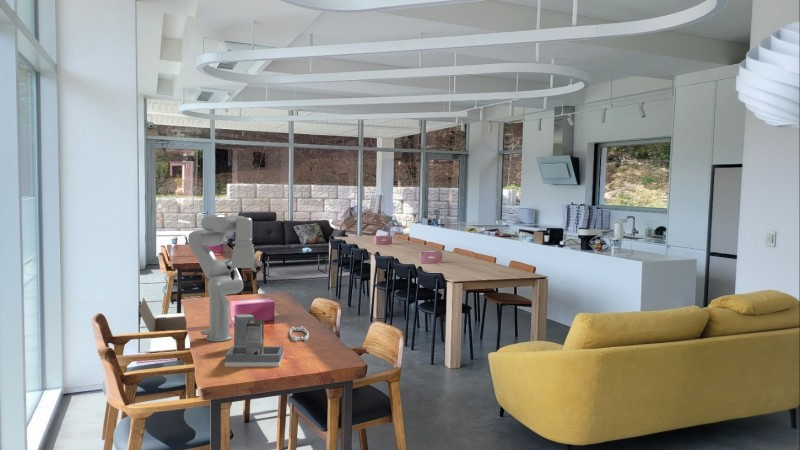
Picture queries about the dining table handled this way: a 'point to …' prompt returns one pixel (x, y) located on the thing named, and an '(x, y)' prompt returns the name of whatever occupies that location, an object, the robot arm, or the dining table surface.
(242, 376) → the dining table surface
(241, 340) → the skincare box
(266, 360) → the grey tray
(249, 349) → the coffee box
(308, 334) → the grey bumpy ring
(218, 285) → the robot arm
